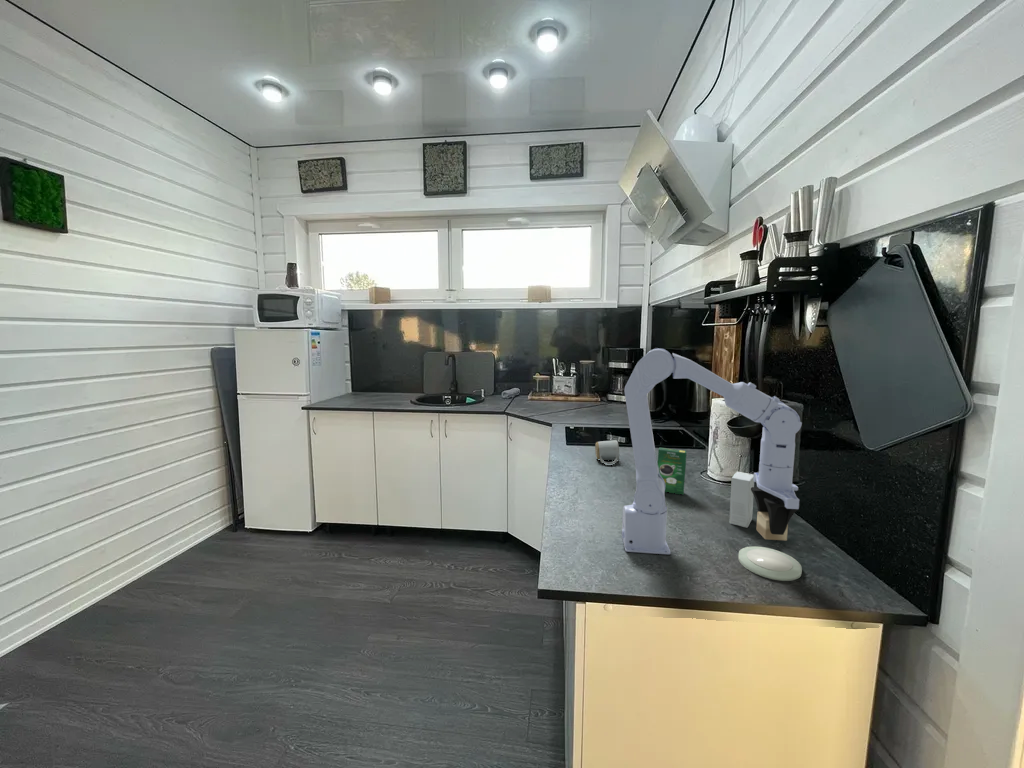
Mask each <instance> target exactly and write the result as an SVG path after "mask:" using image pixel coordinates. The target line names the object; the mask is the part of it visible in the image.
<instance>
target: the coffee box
mask: <svg viewBox="0 0 1024 768" xmlns="http://www.w3.org/2000/svg"><path fill="white" fill-rule="evenodd" d="M657 453H658V455H657V464H658V468H659V473H660V475H661V477H662V478H663V479H664V481H665V485H666V488H665V493H667V492H669V493H668V494H674V493H675V495H680V494H682V496H684V495H685V494H684V493H685V480H686V469H687V468H686V466H687V453H688V452H687V450H683V449H682V450H681V449H675V448H666V447H659V448H658V452H657Z"/></svg>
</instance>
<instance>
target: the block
mask: <svg viewBox="0 0 1024 768" xmlns="http://www.w3.org/2000/svg"><path fill="white" fill-rule="evenodd" d="M788 529H789V524H788V525H787V527H786V530H785V532H784V534H783V535H777V534H772V533H771V531H770V526H769V514H768V512H758V511H757V515H756V531H757V532H758V534H760V535H761V536H762V538H763V539H764V540H772V541H788Z"/></svg>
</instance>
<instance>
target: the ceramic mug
mask: <svg viewBox="0 0 1024 768" xmlns="http://www.w3.org/2000/svg"><path fill="white" fill-rule="evenodd" d="M619 446H620V445H619V441H618V440H603V441H600V440H599V441H596V442H595V445H594V451H595V458H596V457H597V459H600V461H599V462H601V463H602V462H603V463H607V464H613V463H616V464H617V462H618V461H617V460H620V447H619ZM597 459H596V460H597ZM603 460H614V461H603Z"/></svg>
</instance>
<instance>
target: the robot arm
mask: <svg viewBox="0 0 1024 768" xmlns="http://www.w3.org/2000/svg"><path fill="white" fill-rule="evenodd" d="M631 372H632V373H631V374H630V376H629V378H628V380H627V382H626V383H625V386H624V397H625V398H624V399H625V404H626V412H627V419H628V425H629V431H630V439H631V445H632V452H633V458H634V464H635V466H634V467H635V483H636V488H635V492H634V495H633V499H634V500H633V502H632V504H628V505H627V504H626V505H623V506H622V514H621V515H622V524H621V527H622V528H621V538H622V542H623V543H622V544H623V547H624V551H625V552H627V553H628V552H629V553H639V554H640V553H641V554H655V555H656V554H657V555H658V554H659V555H668V556H669V555H671V554H672V553H671V549H670V547H669V545H668V542H667V541H666V540H667V521H668V520H667V515H668V506H667V505H666V496H665V494H666V492H665V488H666V485H665V481H664V479H663V478H662V477H661V475H660V473H659V468H658V458H657V453H656V446H655V441H654V434H653V426H652V420H651V419H652V417H651V412H650V406H649V399H648V394H649V393H650V392H651V391H652V390H653V389H654V387H656V385H657V384H659V383H661V382H663V381H664V380H666V379H667V378H668V377H670V376H671V375H672V379H677V380H679V379H680V380H681V379H688V380H690V381H692V382H694V383H696V384H697V385H700V386H702V387H704V388H706V389H708V390H709V391H711V392H713V393H715V394H717V395H720V396H721V397H723V400H724V403H725V406H726V407H727V408H730V409H731V410H732V411H735V412H736V413H738V414H740V415H742V416H743V417H745V418H747V419H749V420H751V421H752V422H754V423H760V424H761V425H762V432H761V434H762V435H761V439H760V451H759V453H760V454H759V462H758V463H759V464H758V472H753V475H754V480H753V481H754V483H756V486H754V487H752V488H751V491H752V493H753V498H754V500H755V503H756V507H757V512H768V514H769V526H770V531H771V533H772V534H777V535H783V534H784V532H785V530H786V527H787V525H788V526H789V522H790V520H791V518H792V517H793V516H794V514H795V513H796V512H798V510H799V509H800V498H798V497H797V494H796V492H797V491H799V487H798V486H797V485H796V484H794V483H793V477H794V464H795V452H796V451H795V450H796V434H797V433H798V432H799V431H800V430H801V428H802V424H803V422H802V421H801V417H800V415H799V414H798V412H797V411H796V410H795V409H793V408H792V407H790V406H789V405H788V404H785V403H784V402H783V401H780V398H779V397H777V396H776V395H774V396H770V395H768V394H766V393H764V392H762V391H760V390H759V389H757V385H756V384H755V383H752V382H751V381H750V382H748V383H746V382H744V381H740V382H735V383H732V382H730V381H728V380H726V379H724V378H723V377H721V376H719V375H717V374H716V373H714V372H712V371H711V370H709V369H707V368H705V367H704V366H702V365H700V364H698V363H697V362H695V361H693V360H692V359H689V358H687V357H685V356H681V355H679V354H677V353H674V352H672V354H671V353H670V352H669V351H668V350H666V349H665V348H661V347H660V348H658V347H655V348H653V349H650V350H649V351H647V353H646V354H644V356H642V358H640V359H639V360H638V361H637V363H636V365H635V366H634V368H633V370H632V371H631Z"/></svg>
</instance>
